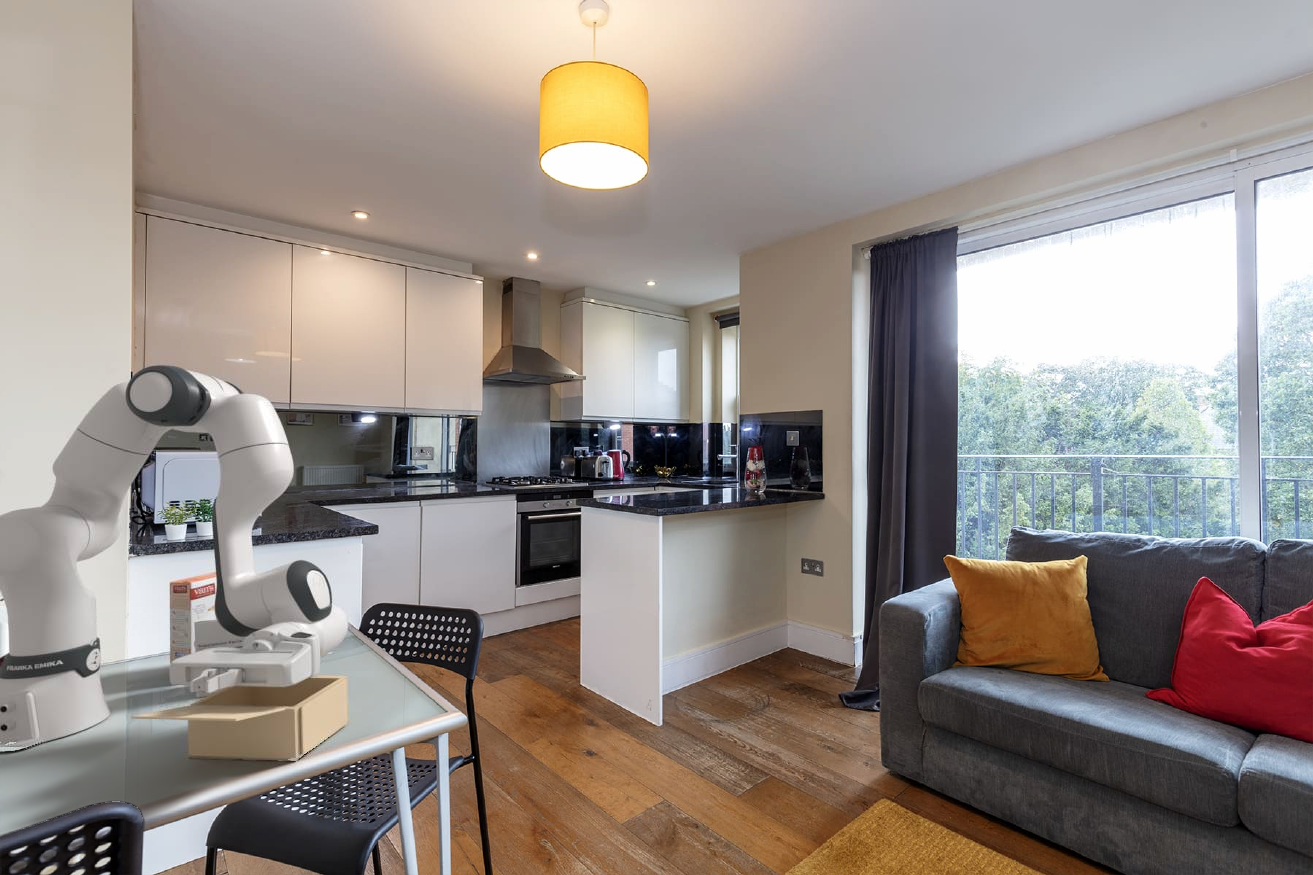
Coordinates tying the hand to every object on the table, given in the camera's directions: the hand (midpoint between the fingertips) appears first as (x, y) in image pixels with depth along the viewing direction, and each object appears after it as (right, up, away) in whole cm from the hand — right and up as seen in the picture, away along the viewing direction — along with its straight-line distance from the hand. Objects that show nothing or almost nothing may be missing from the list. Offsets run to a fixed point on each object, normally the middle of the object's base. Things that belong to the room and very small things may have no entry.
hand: (199, 687), depth 87 cm
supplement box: (-22, -15, +38) cm, 46 cm away
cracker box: (-33, -16, +47) cm, 60 cm away
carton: (+2, -14, +14) cm, 20 cm away
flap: (+1, -6, +7) cm, 9 cm away
